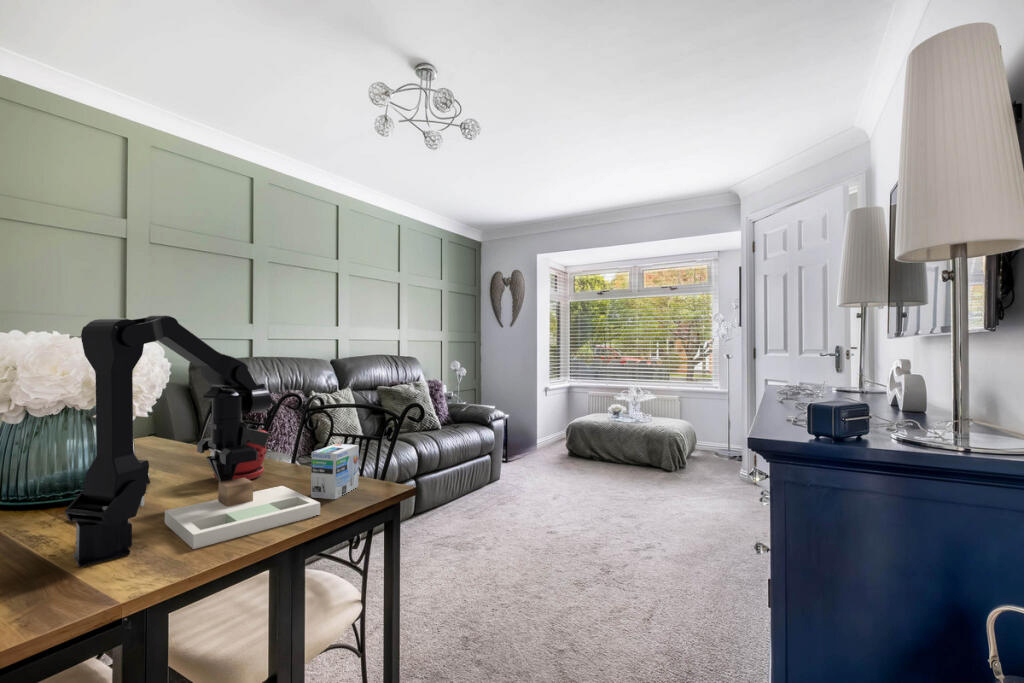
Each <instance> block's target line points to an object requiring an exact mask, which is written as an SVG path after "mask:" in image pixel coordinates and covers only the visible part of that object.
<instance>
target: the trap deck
mask: <svg viewBox="0 0 1024 683" xmlns="http://www.w3.org/2000/svg"><path fill="white" fill-rule="evenodd" d="M316 515H318V516H320V515H321V502H319V501H317V500H315V499H313V498H312V497H309V496H306V495H304V494H301V493H299V492H297V491H295V490H293V489H291V488H288V487H286V486H284V485H279V486H275V487H269V488H266V489H265V488H264V489H260V490H256V491H253V501H250V502H246V503H242V504H237V505H233V506H228V507H226V506H225V505H223V504H222V503H220V502H218V498H217V499H212V500H209V501H203V502H198V503H194V504H190V505H185V506H180V507H175V508H170V509H165V510H164V524H165V525H166V526H167V527H168V528H169V529H171V531H173V532H174V533H175V534H176V535H177V536H178V537H179V538H180V539H181V540H182V541H184V542H185V543H186V544H187V545H188V546H189V547H190V548H191V549H193V550H195V549H199V548H203V547H206V546H210V545H213V544H218V543H222V542H224V541H229V540H232V539H233V540H234V539H237V538H239V537H244V536H246V535H251V534H255V533H258V532H263V531H266V530H268V529H272V528H277V527H281V526H284V525H287V524H291V523H295V522H299V521H303V520H307V519H310V518H313V516H314V517H317V516H316Z"/></svg>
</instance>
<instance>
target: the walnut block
mask: <svg viewBox="0 0 1024 683" xmlns="http://www.w3.org/2000/svg"><path fill="white" fill-rule="evenodd" d="M253 492H254V481H252V480H251V479H250V480H248V479H246V478H239V479H234V480H228V481H223V482H219V481H218V491H217V494H218V495H217V499H218V502H220V503H222V504H223V505H225V506H226V507H228V506H233V505H237V504H242V503H246V502H250V501H253Z"/></svg>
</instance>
